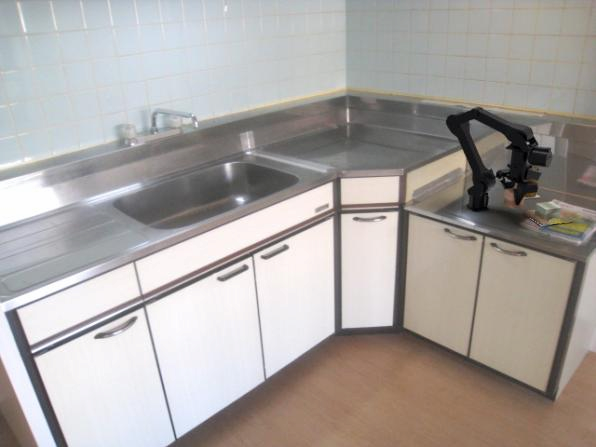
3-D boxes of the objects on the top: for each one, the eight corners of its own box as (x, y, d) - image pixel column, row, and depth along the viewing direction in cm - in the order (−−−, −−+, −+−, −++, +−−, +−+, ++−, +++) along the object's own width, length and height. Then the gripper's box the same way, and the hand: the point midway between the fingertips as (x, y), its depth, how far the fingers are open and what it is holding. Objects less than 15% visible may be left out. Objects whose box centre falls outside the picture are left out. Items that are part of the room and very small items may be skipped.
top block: (510, 208, 183) (512, 193, 181) (503, 203, 188) (505, 188, 185) (523, 207, 184) (525, 192, 181) (515, 202, 188) (517, 187, 186)
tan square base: (541, 226, 178) (543, 214, 176) (522, 213, 189) (524, 201, 187) (572, 222, 180) (574, 209, 178) (551, 209, 190) (553, 197, 188)
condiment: (540, 197, 202) (544, 169, 197) (520, 199, 201) (524, 171, 196) (530, 190, 208) (534, 163, 203) (511, 193, 208) (514, 165, 203)
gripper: (555, 167, 171) (549, 209, 178) (525, 152, 188) (520, 191, 195) (525, 171, 170) (519, 213, 176) (497, 155, 187) (493, 194, 193)
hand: (513, 202), depth 185 cm, fingers closed on top block, 5 cm apart
